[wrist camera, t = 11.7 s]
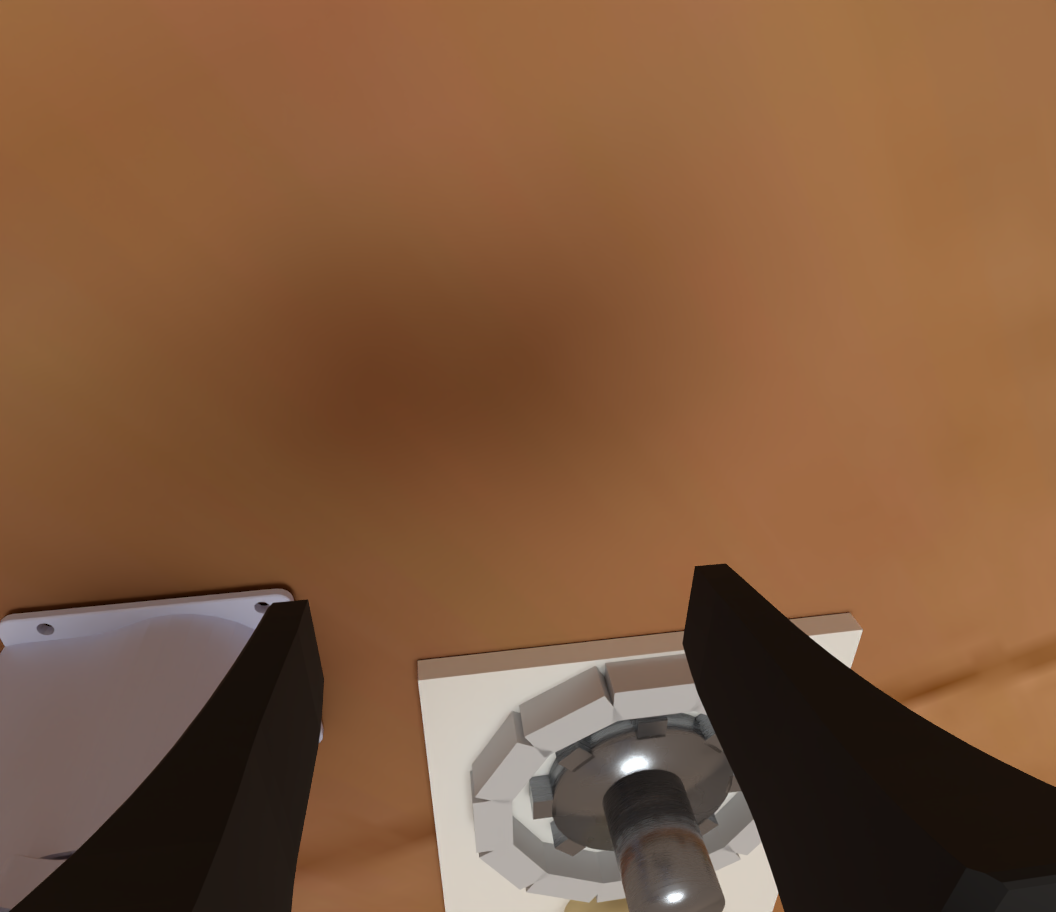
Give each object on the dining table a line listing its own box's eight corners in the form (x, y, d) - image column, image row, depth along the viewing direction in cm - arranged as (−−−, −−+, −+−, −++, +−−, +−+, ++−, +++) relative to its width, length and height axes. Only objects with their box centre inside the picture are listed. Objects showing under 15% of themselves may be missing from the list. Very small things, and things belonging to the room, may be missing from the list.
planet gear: (529, 848, 34) (550, 994, 29) (529, 711, 29) (555, 858, 24) (723, 821, 35) (777, 956, 30) (755, 684, 30) (826, 819, 25)
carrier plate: (452, 955, 40) (456, 1041, 37) (417, 660, 28) (419, 748, 25) (761, 905, 42) (792, 983, 39) (850, 612, 30) (906, 687, 27)
